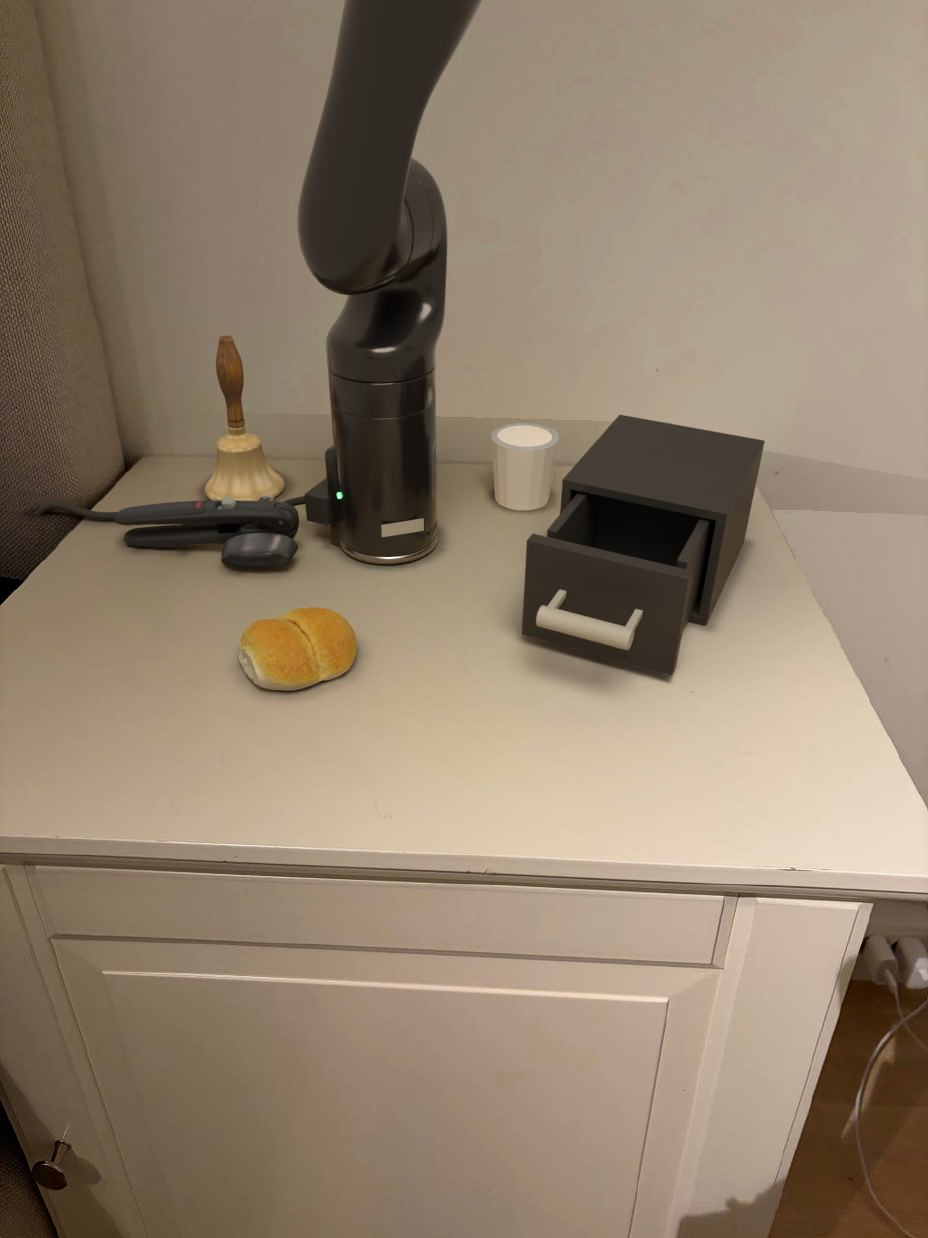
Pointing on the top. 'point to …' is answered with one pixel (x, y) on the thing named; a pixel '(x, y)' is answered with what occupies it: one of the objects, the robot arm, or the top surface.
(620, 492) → the single drawer cabinet
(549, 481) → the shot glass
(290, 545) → the can opener
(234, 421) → the hand bell
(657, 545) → the cabinet drawer
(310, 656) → the bread roll
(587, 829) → the top surface
